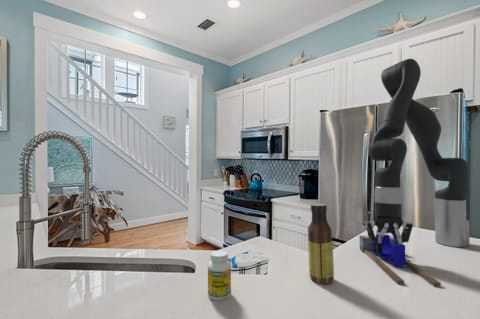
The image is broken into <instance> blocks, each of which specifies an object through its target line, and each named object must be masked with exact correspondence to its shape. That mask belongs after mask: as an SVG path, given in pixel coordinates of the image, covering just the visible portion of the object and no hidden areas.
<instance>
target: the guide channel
mask: <svg viewBox="0 0 480 319" xmlns="http://www.w3.org/2000/svg"><path fill="white" fill-rule="evenodd" d="M394 242H395V240H394V237H393V236H390V243H391V246H392V244H394ZM374 243H375V241H372V240H371V239H370V238H369V236H368V235H359V250H360V251H361V252H362V253H364V254H365V255H366V256H367V257H368V258H370V260H371V261H372V262H374V263H375V264H376V266H378V267H379V269H380V270H382V271H383V272H384V273H385V274H387V276H388V277H389V278H391V279H392V281H394V282H395V283H396V284H397V285H402V286H403V285H405V280H404V279H403V278H401V276H400V275H398V274H397V272H395V271H394V270H392V269H391V268H390V267H389V266H388V265H387V264H386V263H385V262H384V261H382V260H381V259H380V257H379V256H378V257H377V256H376V255H375V254H376V253H375V252H374ZM405 267H408V268H409V269H410V270H412V271H413V272H414V273H416V274H417V275H418V276H419V277H421V278H422V279H423V280H425V281H426V282H428V283H429V284H430V285H431V286H433V287H436V288H441V287H442V284H441V282H440V281H439V280H437V279H436V278H435V277H433V276H432V275H430V274H429V273H428V272H426V271H424V270H423V269H422V268H420V267H419V266H417V265H416V264H415V263H414V262H411V261H410V260H409V259H407V258H406V257H405Z"/></svg>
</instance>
